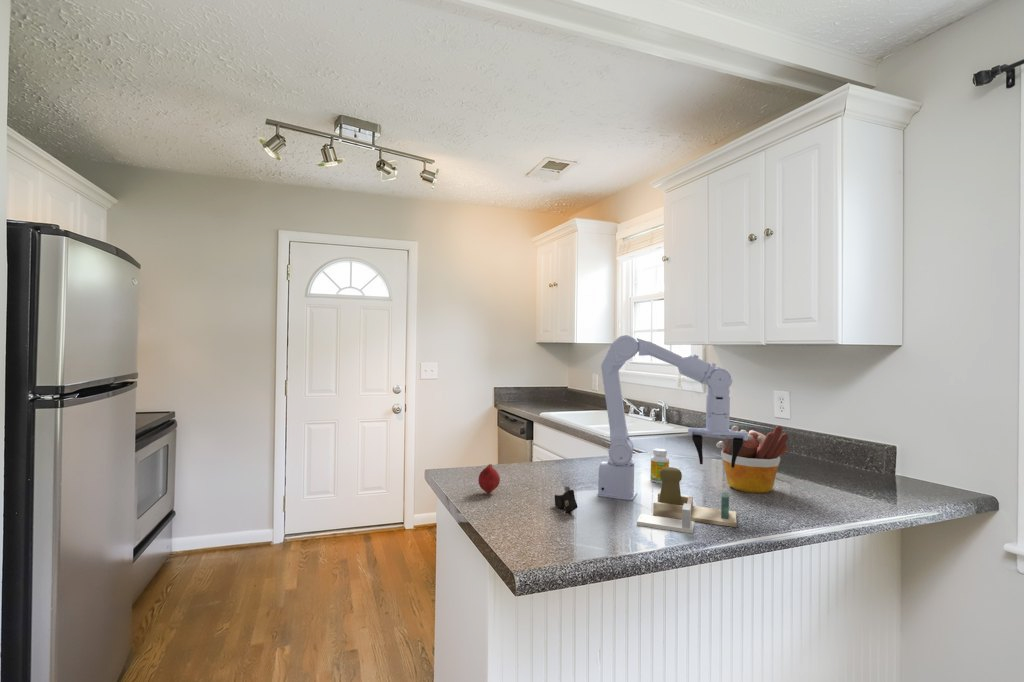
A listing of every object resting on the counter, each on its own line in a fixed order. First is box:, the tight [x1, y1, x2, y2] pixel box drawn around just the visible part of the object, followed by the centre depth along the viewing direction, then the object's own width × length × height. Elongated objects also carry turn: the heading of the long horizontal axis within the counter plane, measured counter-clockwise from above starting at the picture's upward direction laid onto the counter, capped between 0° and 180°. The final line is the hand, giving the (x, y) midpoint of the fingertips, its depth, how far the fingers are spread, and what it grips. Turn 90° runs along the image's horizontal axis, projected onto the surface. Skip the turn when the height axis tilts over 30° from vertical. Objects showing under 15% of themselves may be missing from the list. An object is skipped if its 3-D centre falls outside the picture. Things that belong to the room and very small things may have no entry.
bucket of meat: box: [715, 425, 789, 494], centre depth 151 cm, size 20×16×20 cm
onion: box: [478, 463, 501, 494], centre depth 138 cm, size 6×6×8 cm
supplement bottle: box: [650, 448, 670, 484], centre depth 157 cm, size 5×5×10 cm
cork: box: [659, 466, 683, 505], centre depth 126 cm, size 6×6×11 cm
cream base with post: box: [636, 503, 695, 535], centre depth 116 cm, size 12×6×5 cm, turn 67°
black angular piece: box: [554, 485, 579, 513], centre depth 125 cm, size 9×2×6 cm
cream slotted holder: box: [652, 491, 738, 528], centre depth 124 cm, size 18×10×6 cm, turn 67°
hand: (716, 465), depth 133 cm, fingers open, 7 cm apart
